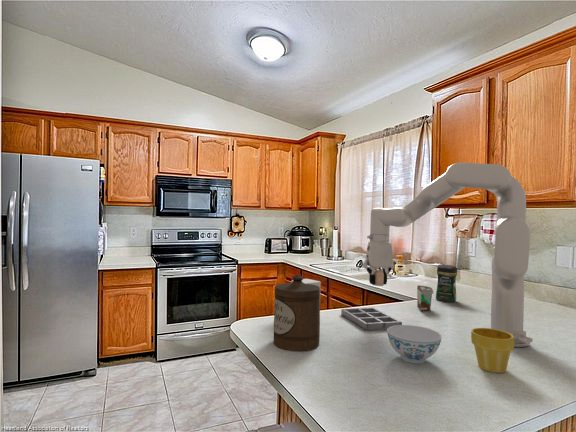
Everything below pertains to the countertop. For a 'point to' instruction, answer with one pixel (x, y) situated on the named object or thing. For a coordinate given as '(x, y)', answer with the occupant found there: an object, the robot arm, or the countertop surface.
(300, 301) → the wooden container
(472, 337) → the plant pot
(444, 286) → the coffee jar
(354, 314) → the grey compartment tray
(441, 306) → the countertop surface
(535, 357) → the countertop surface
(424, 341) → the chinaware
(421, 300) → the food container
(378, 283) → the egg
